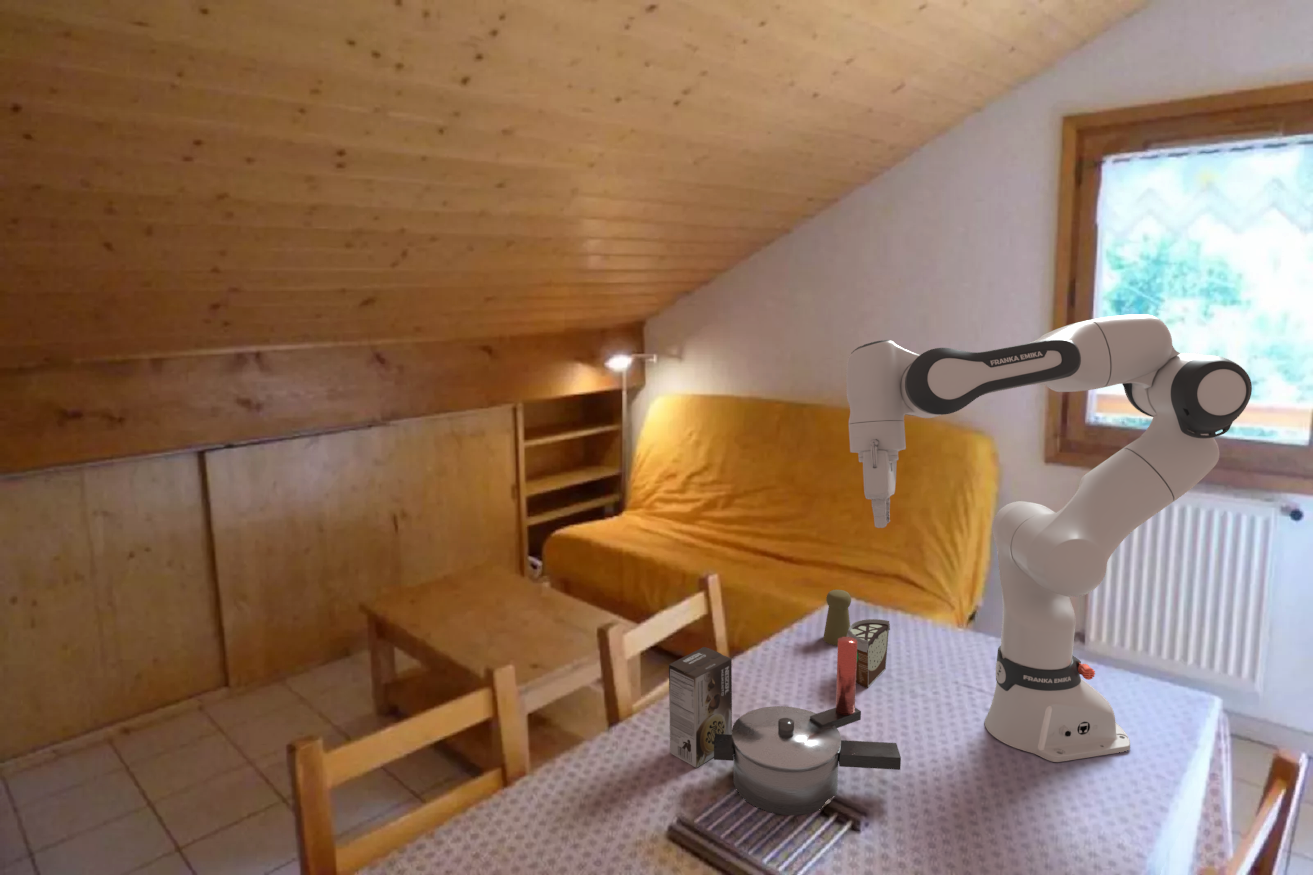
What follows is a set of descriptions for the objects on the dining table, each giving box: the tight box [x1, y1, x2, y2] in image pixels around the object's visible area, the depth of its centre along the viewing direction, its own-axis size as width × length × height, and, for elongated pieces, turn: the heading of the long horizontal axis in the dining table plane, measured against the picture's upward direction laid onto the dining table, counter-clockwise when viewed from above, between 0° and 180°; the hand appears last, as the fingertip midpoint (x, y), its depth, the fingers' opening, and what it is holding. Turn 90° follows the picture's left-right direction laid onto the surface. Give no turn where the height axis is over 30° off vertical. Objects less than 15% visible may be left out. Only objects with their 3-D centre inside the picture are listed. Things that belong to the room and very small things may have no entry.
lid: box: [732, 637, 862, 771], centre depth 127 cm, size 22×17×14 cm
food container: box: [846, 618, 891, 689], centre depth 162 cm, size 12×6×10 cm, turn 144°
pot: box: [713, 734, 902, 816], centre depth 128 cm, size 28×16×7 cm, turn 84°
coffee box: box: [668, 646, 733, 769], centre depth 136 cm, size 9×6×16 cm
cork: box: [822, 589, 852, 647], centre depth 178 cm, size 6×6×11 cm
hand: (882, 525), depth 134 cm, fingers open, 8 cm apart
